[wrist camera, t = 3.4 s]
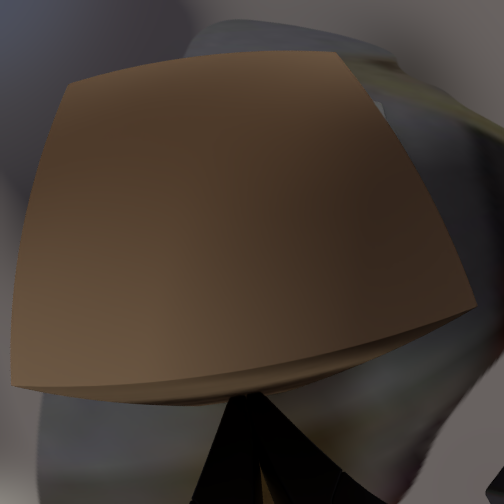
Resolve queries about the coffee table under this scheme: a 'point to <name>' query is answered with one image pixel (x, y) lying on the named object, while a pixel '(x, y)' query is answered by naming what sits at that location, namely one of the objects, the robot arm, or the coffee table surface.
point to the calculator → (496, 489)
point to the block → (223, 235)
